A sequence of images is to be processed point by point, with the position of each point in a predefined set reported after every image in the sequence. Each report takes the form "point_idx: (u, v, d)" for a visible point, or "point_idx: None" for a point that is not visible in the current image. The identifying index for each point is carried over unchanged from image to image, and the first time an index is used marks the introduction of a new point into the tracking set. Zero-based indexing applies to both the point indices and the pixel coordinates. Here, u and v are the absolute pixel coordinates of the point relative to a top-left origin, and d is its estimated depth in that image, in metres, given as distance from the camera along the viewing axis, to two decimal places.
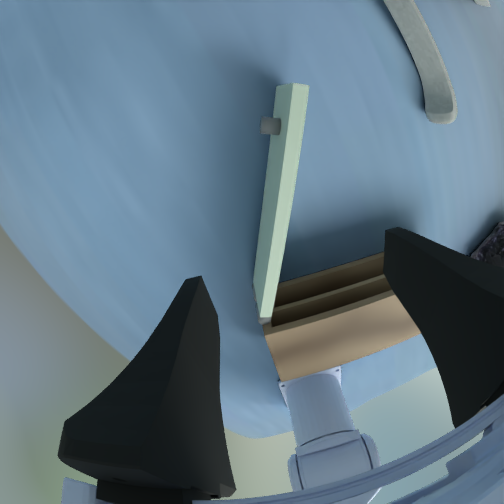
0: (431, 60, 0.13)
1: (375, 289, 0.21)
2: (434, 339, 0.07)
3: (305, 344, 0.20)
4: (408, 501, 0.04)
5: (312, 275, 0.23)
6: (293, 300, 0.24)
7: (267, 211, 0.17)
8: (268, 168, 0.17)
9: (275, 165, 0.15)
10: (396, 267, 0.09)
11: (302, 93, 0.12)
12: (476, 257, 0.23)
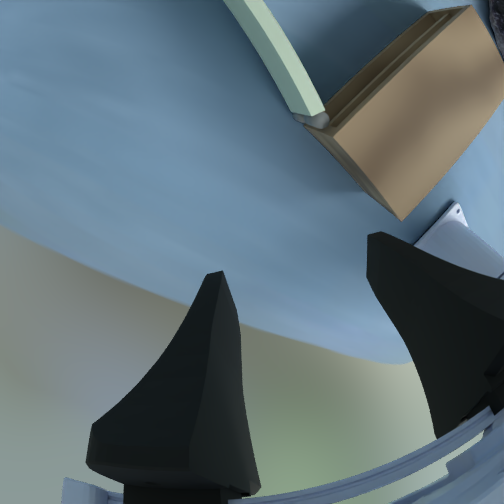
0: None
1: None
2: (416, 347, 0.07)
3: (393, 136, 0.12)
4: (408, 501, 0.04)
5: (351, 79, 0.15)
6: None
7: (241, 15, 0.11)
8: None
9: None
10: (378, 273, 0.09)
11: None
12: (495, 17, 0.09)
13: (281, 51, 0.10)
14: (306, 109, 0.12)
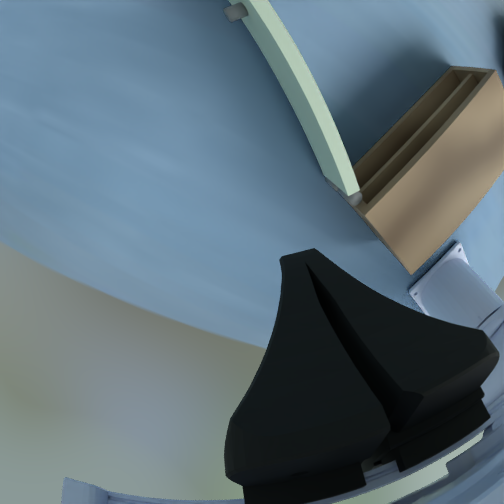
0: None
1: (444, 123, 0.14)
2: None
3: (412, 209, 0.15)
4: (408, 501, 0.04)
5: (378, 142, 0.17)
6: None
7: (288, 84, 0.13)
8: (264, 53, 0.13)
9: (264, 37, 0.11)
10: None
11: None
12: None
13: (328, 136, 0.13)
14: (343, 188, 0.15)
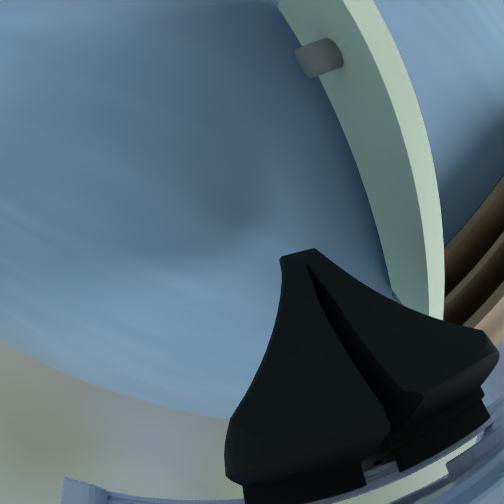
0: None
1: None
2: None
3: None
4: (408, 501, 0.04)
5: (454, 241, 0.13)
6: None
7: (386, 198, 0.09)
8: (348, 131, 0.09)
9: (368, 119, 0.07)
10: None
11: None
12: None
13: (432, 292, 0.09)
14: None
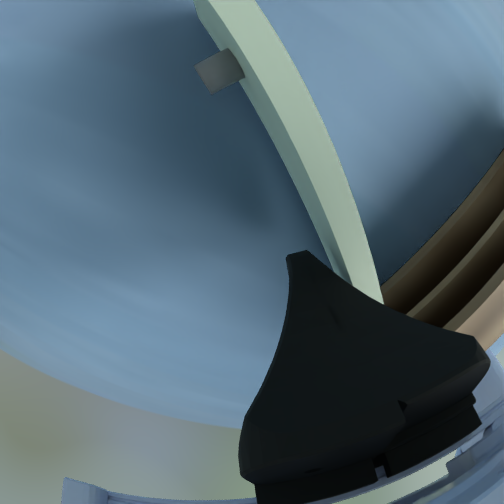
0: None
1: None
2: None
3: None
4: (408, 501, 0.04)
5: (420, 253, 0.13)
6: (409, 296, 0.14)
7: (314, 214, 0.09)
8: (274, 142, 0.09)
9: (276, 131, 0.07)
10: None
11: None
12: None
13: None
14: None
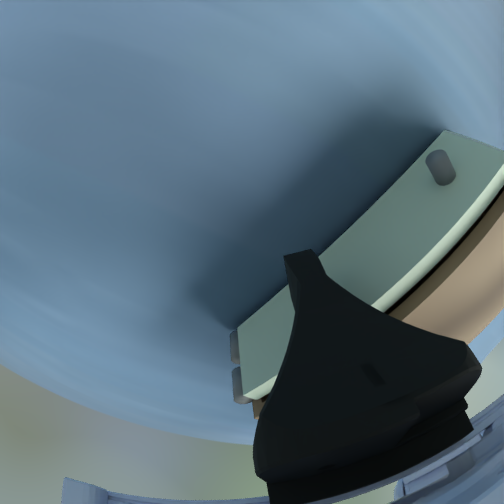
0: None
1: None
2: None
3: None
4: (408, 501, 0.04)
5: None
6: None
7: (352, 263, 0.10)
8: (380, 208, 0.11)
9: (415, 217, 0.09)
10: (293, 296, 0.09)
11: None
12: None
13: None
14: (248, 385, 0.11)
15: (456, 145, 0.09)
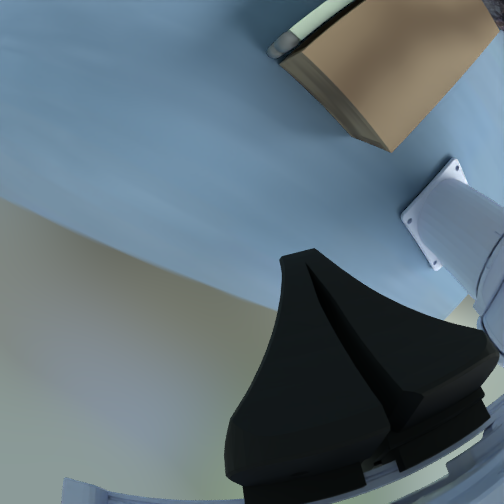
0: None
1: None
2: None
3: (370, 56, 0.10)
4: (408, 501, 0.04)
5: (328, 21, 0.12)
6: None
7: None
8: None
9: None
10: None
11: None
12: None
13: None
14: None
15: None
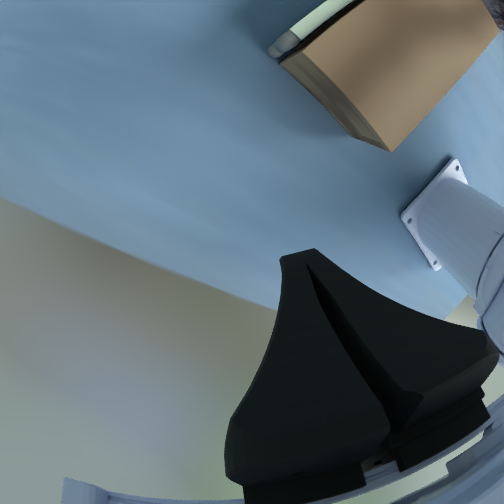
0: None
1: None
2: None
3: (370, 55, 0.10)
4: (408, 501, 0.04)
5: (329, 21, 0.12)
6: None
7: None
8: None
9: None
10: None
11: None
12: None
13: None
14: (293, 26, 0.10)
15: None
